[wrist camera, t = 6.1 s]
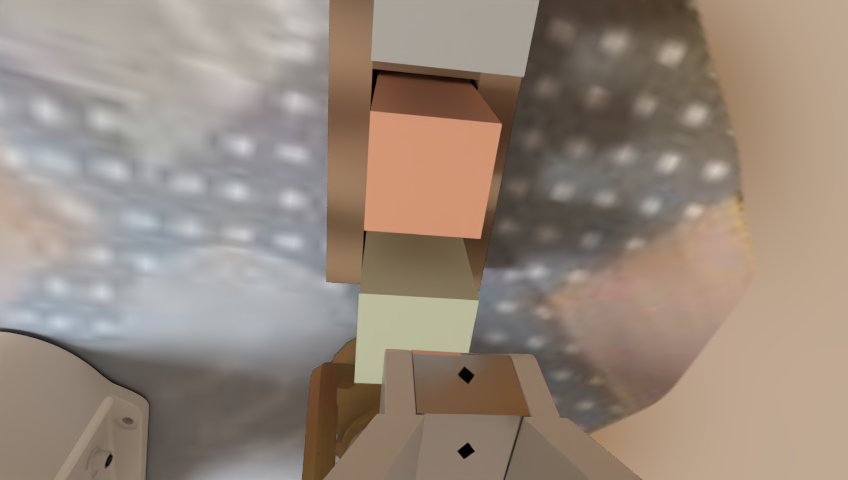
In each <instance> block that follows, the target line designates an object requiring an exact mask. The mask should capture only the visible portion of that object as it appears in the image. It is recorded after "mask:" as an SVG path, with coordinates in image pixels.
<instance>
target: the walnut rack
mask: <svg viewBox="0 0 848 480" xmlns="http://www.w3.org/2000/svg"><path fill="white" fill-rule="evenodd" d="M373 11H374V0H330V9H329V96H328V183H327V270H326V282H332V283H349V284H360V280H361V272H362V264H363V256H364V246H365V230H364V219H365V200H366V182H367V163H368V144H369V126H370V110H371V105H372V101H373V83H374V69H380V70H389V71H399V72H408V73H417V74H427V75H436V76H446V77H455V78H465V79H470V82H471V83H472V85H473V86H474V87H475V89H476V90H477V91H478V93H479V94H480V95H481V97H482V98H483V99H484V101H485V102H486V103H487V104H488V106H489V107H490V108H491V110H492V111H493V112H494V114H495V115H496V116H497V118H498V119H499V120H500V122H501V123H502V127H501V133H500V138H499V143H498V148H497V154H496V159H495V164H494V170H493V175H492V180H491V186H490V191H489V196H488V201H487V207H486V212H485V217H484V223H483V228H482V233H481V239H475V238H463V241H464V245H465V248H466V252H467V256H468V260H469V264H470V268H471V271H472V275H473V279H474V283H475V287H476V291H479V290H480V285H481V280H482V275H483V270H484V265H485V260H486V255H487V250H488V245H489V240H490V235H491V230H492V225H493V220H494V215H495V210H496V204H497V199H498V194H499V189H500V184H501V179H502V174H503V169H504V164H505V159H506V154H507V149H508V144H509V139H510V134H511V129H512V124H513V119H514V114H515V109H516V104H517V99H518V94H519V89H520V84H521V79H522V77H519V76H510V75H501V74H491V73H482V72H473V71H463V70H454V69H445V68H435V67H426V66H417V65H408V64H398V63H389V62H380V61H371V50H372V30H373Z"/></svg>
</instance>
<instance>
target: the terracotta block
mask: <svg viewBox="0 0 848 480" xmlns="http://www.w3.org/2000/svg"><path fill="white" fill-rule="evenodd" d="M501 127H502V123H501V122H500V120H499V119H498V118H497V116H496V115H495V114H494V112H493V111H492V110H491V108H490V107H489V106H488V104H487V103H486V102H485V101H484V99H483V98H482V97H481V95H480V94H479V93H478V91H477V90H476V89H475V87H474V86H473V85H472V83H471V82H470V81H469V79H465V78H455V77H446V76H436V75H427V74H417V73H408V72H399V71H389V70H380V69H379V72H378V77H377V82H376V86H375V91H374V96H373V101H372V105H371V110H370V126H369V144H368V163H367V182H366V200H365V219H364V230H365V231H379V232H392V233H406V234H420V235H434V236H448V237H461V238H475V239H481V233H482V228H483V223H484V217H485V212H486V207H487V201H488V196H489V191H490V186H491V180H492V175H493V170H494V164H495V159H496V154H497V148H498V143H499V138H500V133H501Z"/></svg>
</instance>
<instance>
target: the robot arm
mask: <svg viewBox="0 0 848 480" xmlns="http://www.w3.org/2000/svg"><path fill="white" fill-rule="evenodd" d="M148 418H149V404H148V402H147V401H146V400H145V399H144V398H143V397H142V396H140V395H138V394H136V393H134V392H132V391H130V390H128V389H126V388H123V387H121V386H118V385H116V384H114V383H112V382H110V381H109V380H107V379H106V378H105V377H103V376H102V375H101V374H100V373H98V372H97V371H96V370H95V369H94V368H92V367H91V366H90V365H88V364H87V363H86V362H84V361H83V360H81V359H80V358H78V357H76V356H75V355H73V354H71V353H69V352H68V351H66V350H64V349H61V348H59V347H57V346H55V345H52V344H50V343H47V342H44V341H42V340H39V339H35V338H32V337H28V336H24V335H19V334H14V333H7V332H0V480H145V476H146V457H147V438H148ZM323 480H642V479H641V478H639V477H638V476H637V475H636V474H635V473H633V472H632V471H631V470H630V469H629V468H627V467H626V466H625V465H624V464H623V463H621V462H620V461H619V460H618V459H617V458H615V457H614V456H613V455H611V453H609V452H608V451H607V450H606V449H605V448H603V447H602V446H601V445H600V444H598V443H597V442H596V441H595V440H594V439H592V438H591V437H590V436H589V435H588V434H586V433H585V432H584V431H583V430H582V429H580V428H579V427H578V426H577V425H576V424H574V423H573V422H572V421H571V420H570V419H568V418H560V416H559V413H558V411H557V409H556V406H555V404H554V401H553V399H552V397H551V394H550V392H549V389H548V387H547V384H546V382H545V380H544V377H543V375H542V372H541V370H540V367H539V365H538V363H537V360H536V358H535V357H534V356H533V355H532V354H490V353H458V352H441V351H425V350H411V351H410V350H400V349H386V350H385V353H384V364H383V375H382V385H381V397H380V411H379V414H376V416H375V417H374V418H373V419H372V421H371V422H370V423H369V424H368V425H367V427H366V428H365V429H364V430H363V432H362V433H361V434H360V435H359V437H358V438H357V439H356V440H355V441H354V443H353V444H352V445H351V446H350V448H349V449H348V450H347V451H346V452H345V454H344V455H343V456H342V457H341V459H340V460H339V461H338V462H337V464H336V465H335V466H334V467H333V468H332V470H331V471H330V472H329V473H328V475H327V476H326V477H325V478H324V479H323Z"/></svg>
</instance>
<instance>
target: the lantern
mask: <svg viewBox="0 0 848 480" xmlns="http://www.w3.org/2000/svg"><path fill="white" fill-rule="evenodd" d="M356 340H357V338H355V339H353V340H351V341H350V342H348V343H347V344H346V345H345V346H344V347H343V348H342V349H341V350H340V351H339V352H338V353H337V354H336V355H335V357H334V359H333V361H332V362H329V363H324V364H322V365H321V366H319V367H317V368H316V369H314V370H313V372H312V375H311V380H310V390H309V401H308V413H307V425H306V437H305V449H304V461H303V473H302V480H323V479H324V478H325V477H326V476H327V475H328V473H329V472H330V471H331V470H332V468H333V467H334V466H335V455H337V456H338V457H339V458H341V457H342V456H343V455H344V454H345V452H346V451H347V450H348V449H349V448H350V446H351V445H352V444H353V443H354V441H355V440H356V439H357V438H358V437H359V435H360V434H361V433H362V432H363V430H364V429H365V428H366V427H367V425H368V424H369V423H370V422H371V421H372V419H373V418H374V417H375V416H376V414H379V411H380V397H381V385H382V384H371V383H354V379H355V359H356ZM336 433H337V434H338V435H339V437H338V438H337V440H336Z"/></svg>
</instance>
